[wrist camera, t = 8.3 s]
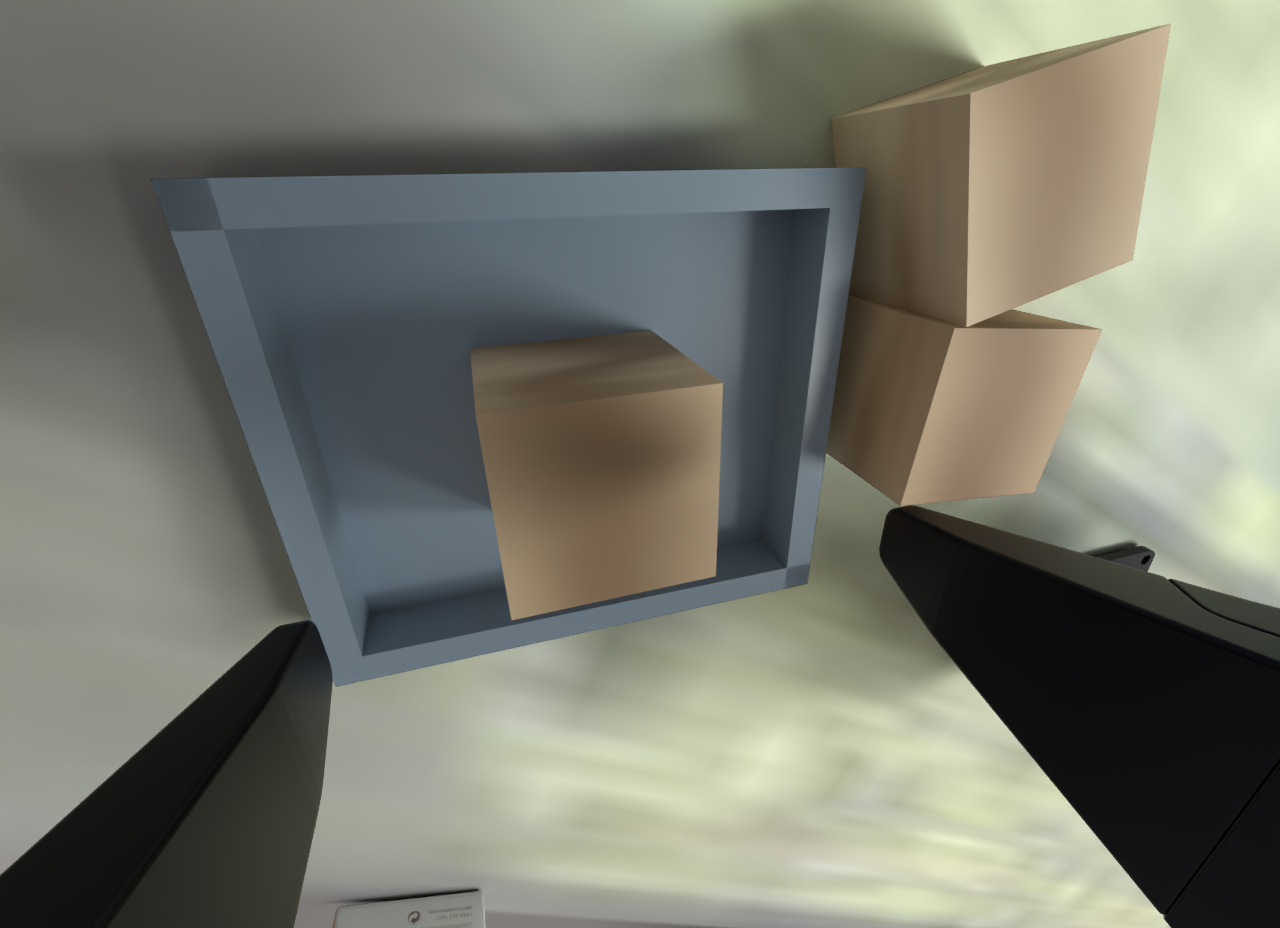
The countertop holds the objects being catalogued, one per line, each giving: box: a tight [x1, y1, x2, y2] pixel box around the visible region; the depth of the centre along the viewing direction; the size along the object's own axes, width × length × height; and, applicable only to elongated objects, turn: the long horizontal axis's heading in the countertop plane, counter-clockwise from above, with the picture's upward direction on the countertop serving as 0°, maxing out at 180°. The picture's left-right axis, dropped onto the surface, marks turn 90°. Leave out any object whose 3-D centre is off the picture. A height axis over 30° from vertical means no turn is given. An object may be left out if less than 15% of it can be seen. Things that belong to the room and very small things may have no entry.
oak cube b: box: [826, 295, 1102, 506], centre depth 16 cm, size 4×4×4 cm
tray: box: [151, 167, 866, 687], centre depth 14 cm, size 14×12×2 cm
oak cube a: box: [470, 330, 723, 620], centre depth 13 cm, size 4×4×4 cm
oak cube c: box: [831, 24, 1171, 327], centre depth 14 cm, size 4×4×4 cm
